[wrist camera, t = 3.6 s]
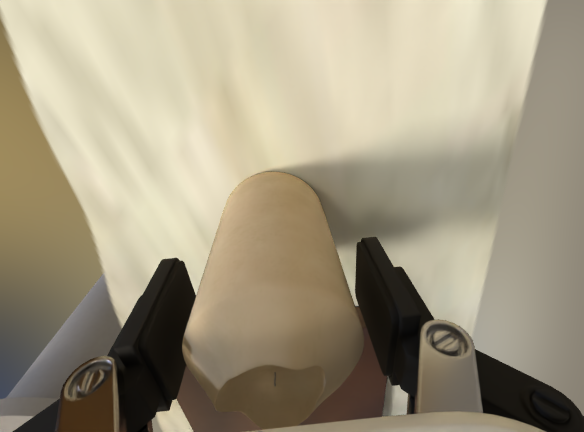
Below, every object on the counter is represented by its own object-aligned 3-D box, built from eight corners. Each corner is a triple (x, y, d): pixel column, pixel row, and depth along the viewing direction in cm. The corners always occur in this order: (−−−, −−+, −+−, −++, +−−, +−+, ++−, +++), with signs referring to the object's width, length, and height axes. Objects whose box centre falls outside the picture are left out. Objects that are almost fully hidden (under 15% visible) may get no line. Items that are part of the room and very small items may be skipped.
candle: (321, 252, 18) (368, 445, 9) (231, 257, 17) (190, 461, 9) (323, 167, 15) (395, 326, 6) (217, 172, 15) (135, 344, 6)
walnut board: (220, 455, 30) (217, 477, 28) (160, 327, 20) (150, 350, 18) (371, 437, 30) (376, 458, 28) (385, 303, 20) (394, 324, 19)
